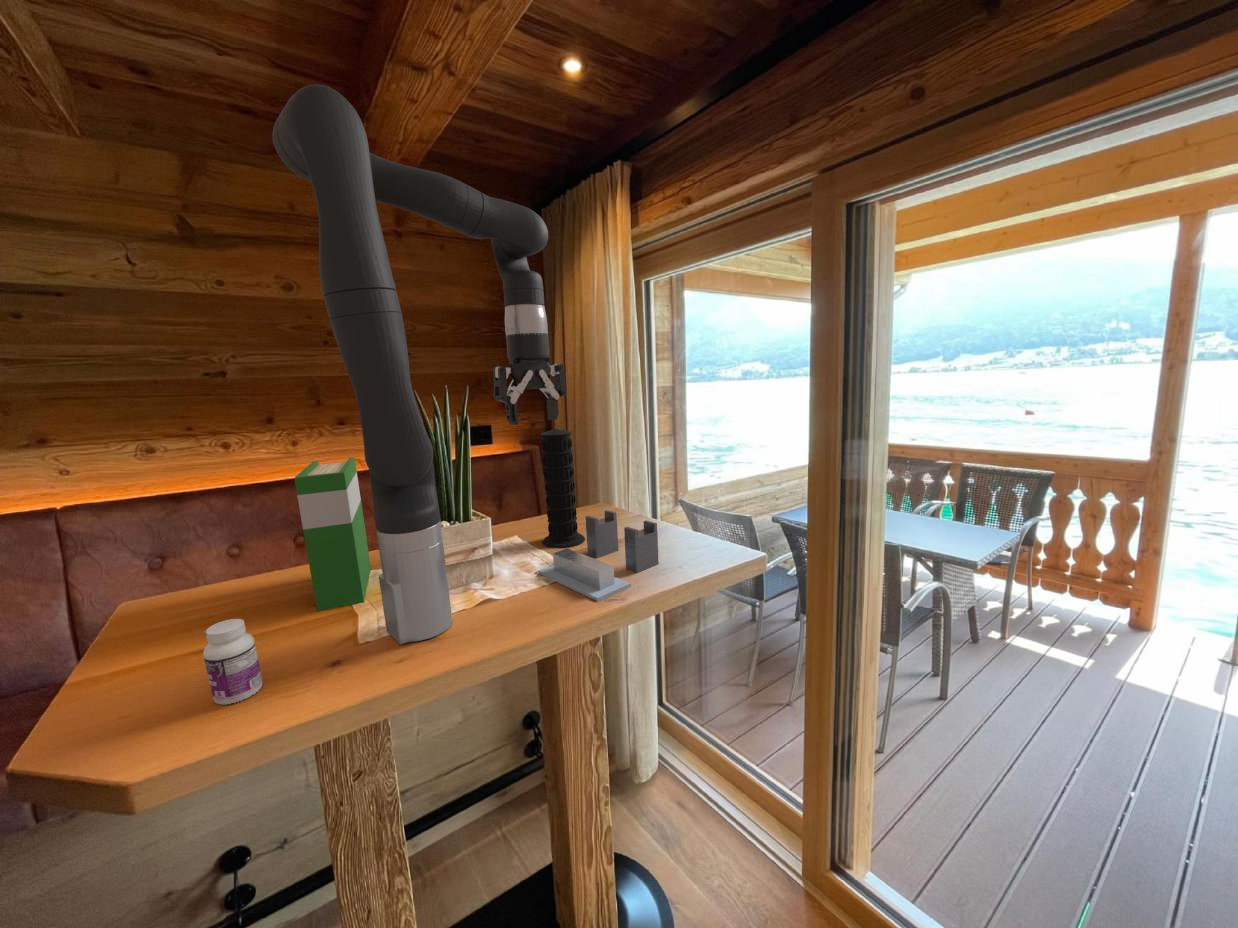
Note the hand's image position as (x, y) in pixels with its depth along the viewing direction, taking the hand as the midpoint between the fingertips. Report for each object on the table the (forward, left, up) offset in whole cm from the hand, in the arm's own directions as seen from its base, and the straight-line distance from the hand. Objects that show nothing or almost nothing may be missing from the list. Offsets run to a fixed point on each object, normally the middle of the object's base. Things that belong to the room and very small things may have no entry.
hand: (534, 422), depth 96 cm
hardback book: (-30, +24, -30) cm, 49 cm away
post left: (+15, 0, -30) cm, 34 cm away
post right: (+15, -12, -30) cm, 36 cm away
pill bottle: (-50, -2, -30) cm, 58 cm away
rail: (+3, -8, -30) cm, 31 cm away
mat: (+3, -8, -30) cm, 31 cm away
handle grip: (+14, +13, -30) cm, 36 cm away
